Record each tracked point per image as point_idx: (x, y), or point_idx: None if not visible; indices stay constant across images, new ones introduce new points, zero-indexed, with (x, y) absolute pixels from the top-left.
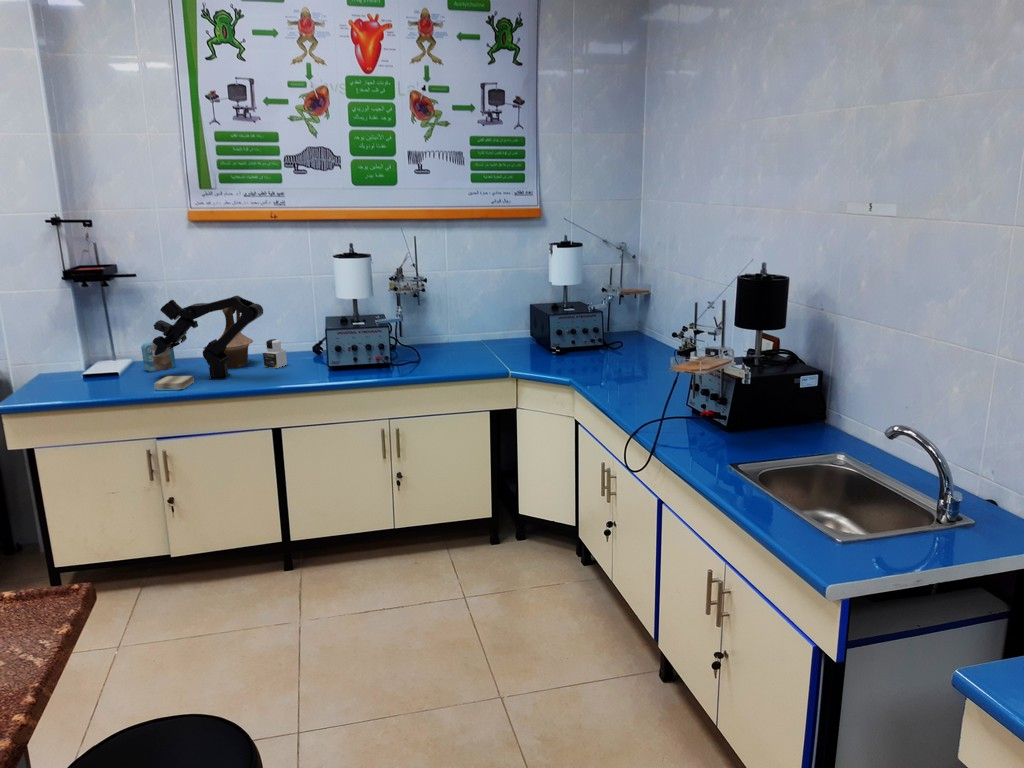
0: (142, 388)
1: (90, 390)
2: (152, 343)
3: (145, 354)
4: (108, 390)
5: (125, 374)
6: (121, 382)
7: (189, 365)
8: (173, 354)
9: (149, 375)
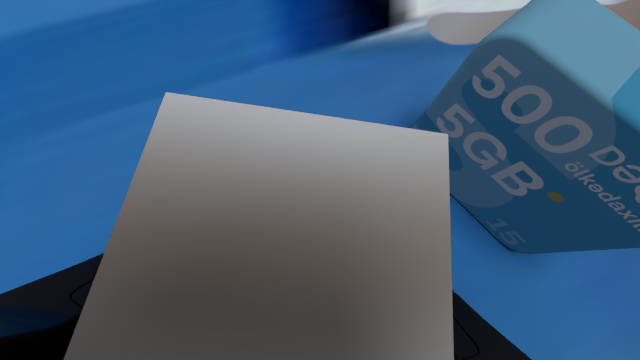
0: (59, 222)
1: (117, 11)
2: (172, 133)
3: (453, 75)
4: (87, 75)
5: (369, 58)
6: (225, 84)
7: (567, 328)
8: (590, 246)
9: None
